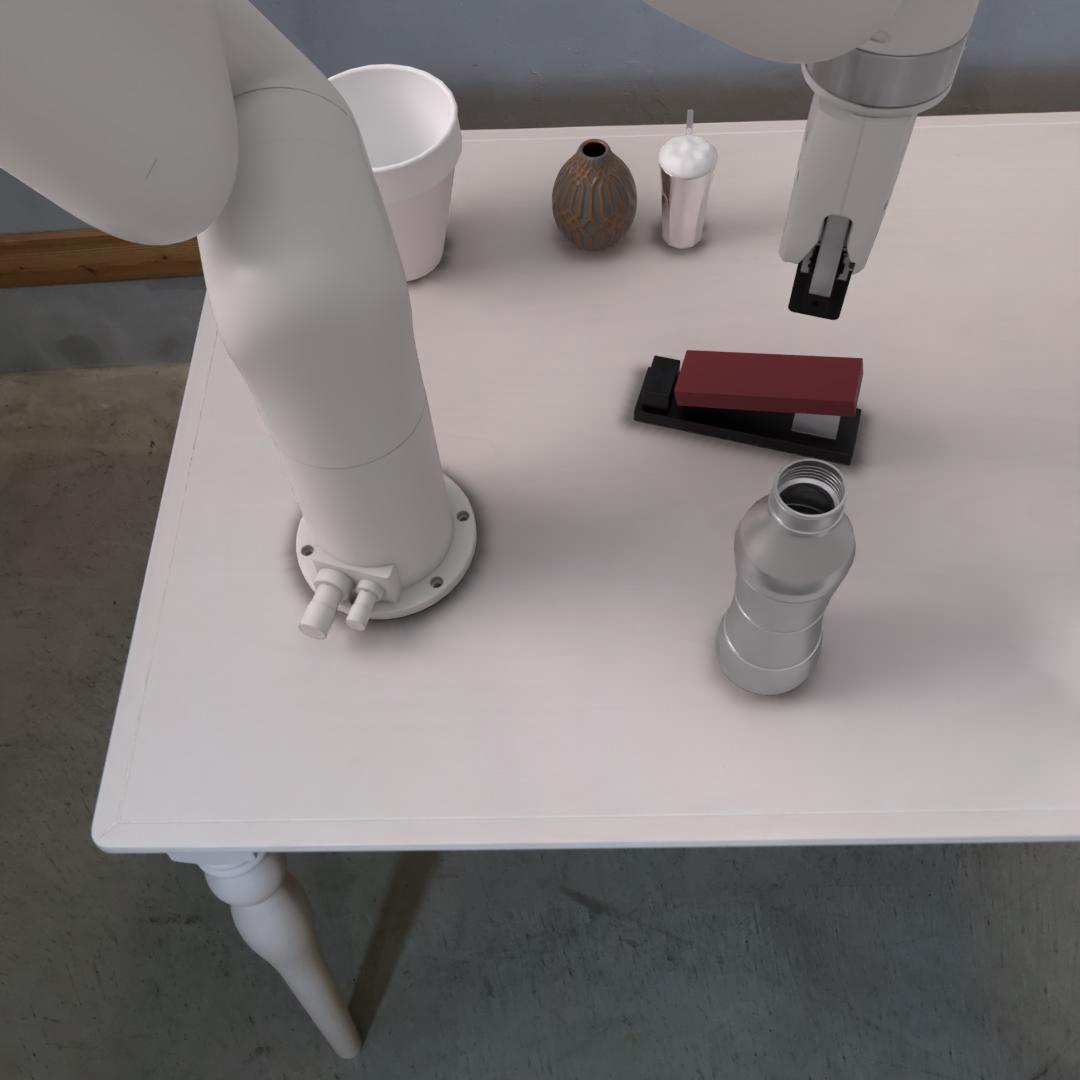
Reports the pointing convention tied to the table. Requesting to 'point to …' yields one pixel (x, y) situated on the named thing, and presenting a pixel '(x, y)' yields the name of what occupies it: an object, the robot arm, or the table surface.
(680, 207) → the milkshake
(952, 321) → the table surface
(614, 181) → the vase
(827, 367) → the stapler arm
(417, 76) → the cup
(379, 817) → the table surface
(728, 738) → the table surface
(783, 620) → the plastic bottle
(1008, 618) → the table surface
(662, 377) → the stapler base
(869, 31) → the robot arm
